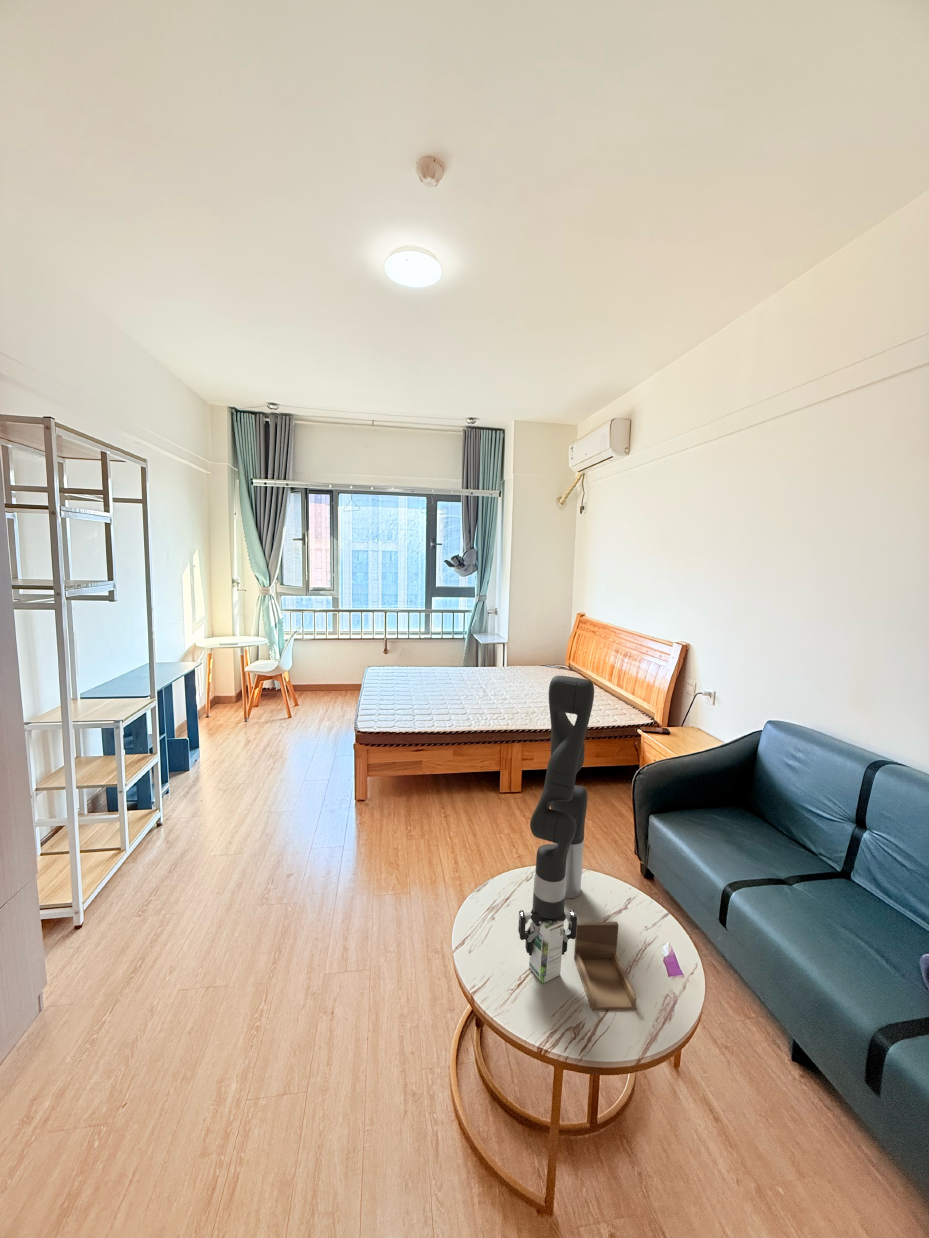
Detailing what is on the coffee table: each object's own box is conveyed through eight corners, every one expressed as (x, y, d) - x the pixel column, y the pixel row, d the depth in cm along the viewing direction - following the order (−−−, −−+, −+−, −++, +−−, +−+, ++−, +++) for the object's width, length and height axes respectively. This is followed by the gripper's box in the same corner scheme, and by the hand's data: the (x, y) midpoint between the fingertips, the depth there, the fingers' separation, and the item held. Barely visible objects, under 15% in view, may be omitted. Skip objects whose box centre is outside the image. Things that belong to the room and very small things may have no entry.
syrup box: (527, 966, 120) (530, 913, 119) (546, 957, 123) (549, 905, 122) (542, 984, 115) (545, 928, 114) (561, 974, 118) (565, 920, 117)
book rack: (573, 958, 123) (576, 922, 122) (614, 958, 124) (616, 921, 123) (591, 1009, 109) (594, 968, 108) (636, 1008, 110) (639, 967, 109)
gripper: (574, 879, 121) (570, 940, 123) (517, 880, 120) (514, 940, 122) (583, 900, 113) (579, 964, 115) (522, 901, 113) (519, 965, 115)
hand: (545, 952), depth 119 cm, fingers closed on syrup box, 7 cm apart
